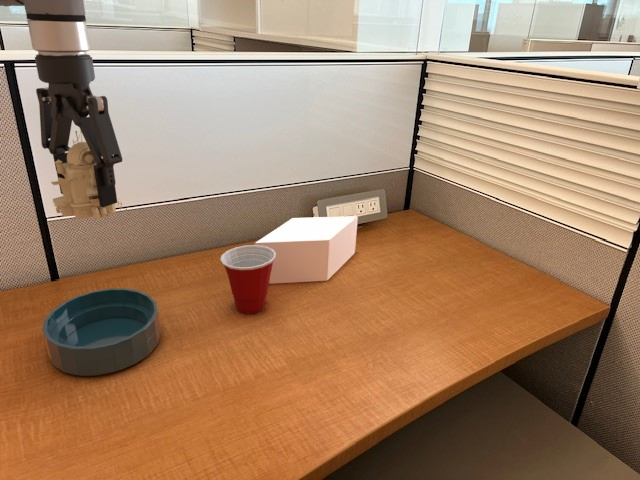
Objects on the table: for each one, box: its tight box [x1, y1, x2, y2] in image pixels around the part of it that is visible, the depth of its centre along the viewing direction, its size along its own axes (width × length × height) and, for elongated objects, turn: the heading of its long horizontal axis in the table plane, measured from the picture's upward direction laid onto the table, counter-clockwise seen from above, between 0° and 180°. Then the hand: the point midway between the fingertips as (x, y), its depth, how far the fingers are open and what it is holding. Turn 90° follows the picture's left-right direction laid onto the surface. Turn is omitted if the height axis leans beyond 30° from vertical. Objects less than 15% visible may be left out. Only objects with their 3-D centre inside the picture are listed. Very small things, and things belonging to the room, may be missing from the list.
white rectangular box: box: [254, 215, 359, 285], centre depth 112 cm, size 14×29×10 cm, turn 127°
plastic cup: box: [220, 244, 276, 315], centre depth 96 cm, size 11×11×12 cm
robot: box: [50, 130, 128, 220], centre depth 77 cm, size 10×8×15 cm
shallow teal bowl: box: [41, 287, 162, 377], centre depth 84 cm, size 18×18×6 cm
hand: (88, 197), depth 79 cm, fingers closed on robot, 9 cm apart
